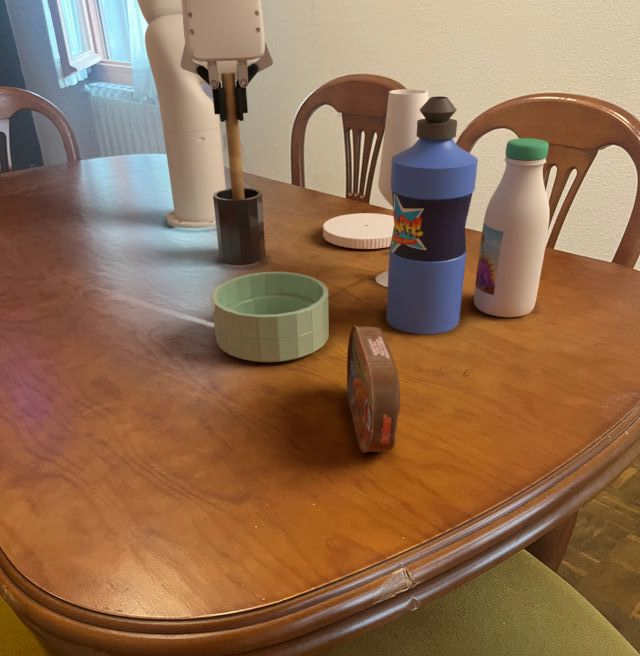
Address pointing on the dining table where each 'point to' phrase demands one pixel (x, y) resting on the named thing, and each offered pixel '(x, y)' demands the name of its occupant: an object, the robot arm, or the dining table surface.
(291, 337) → the bowl
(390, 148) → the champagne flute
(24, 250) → the dining table surface
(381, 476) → the dining table surface
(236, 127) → the stick
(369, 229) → the plastic lid
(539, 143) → the milk bottle
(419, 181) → the water bottle
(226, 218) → the holder
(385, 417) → the tin
